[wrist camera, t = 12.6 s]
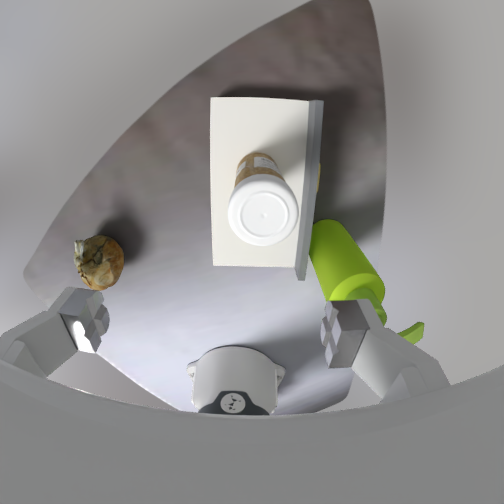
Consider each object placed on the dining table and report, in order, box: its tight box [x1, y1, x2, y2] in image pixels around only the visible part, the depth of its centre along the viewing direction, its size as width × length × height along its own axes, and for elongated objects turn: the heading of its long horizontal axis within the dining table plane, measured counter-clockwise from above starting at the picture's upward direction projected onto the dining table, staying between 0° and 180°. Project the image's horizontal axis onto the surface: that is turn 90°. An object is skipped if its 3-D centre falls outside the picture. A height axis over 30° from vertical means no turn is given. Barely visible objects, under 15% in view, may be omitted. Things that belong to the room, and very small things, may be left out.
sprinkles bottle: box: [228, 152, 299, 246], centre depth 23 cm, size 5×5×14 cm
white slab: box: [210, 97, 324, 281], centre depth 30 cm, size 20×11×6 cm, turn 178°
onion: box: [74, 235, 124, 291], centre depth 33 cm, size 8×8×8 cm
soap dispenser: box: [309, 219, 424, 345], centre depth 27 cm, size 6×7×20 cm
